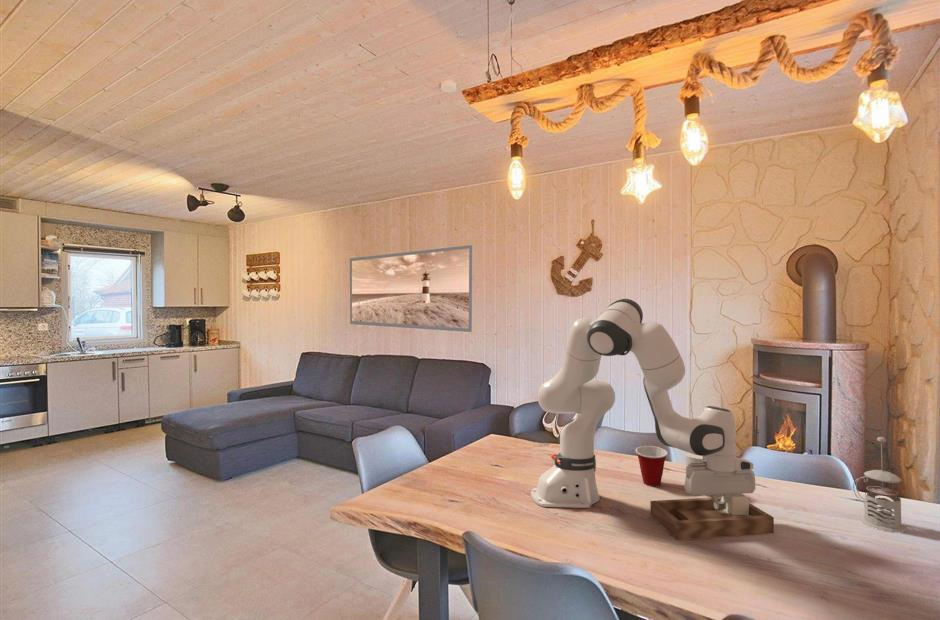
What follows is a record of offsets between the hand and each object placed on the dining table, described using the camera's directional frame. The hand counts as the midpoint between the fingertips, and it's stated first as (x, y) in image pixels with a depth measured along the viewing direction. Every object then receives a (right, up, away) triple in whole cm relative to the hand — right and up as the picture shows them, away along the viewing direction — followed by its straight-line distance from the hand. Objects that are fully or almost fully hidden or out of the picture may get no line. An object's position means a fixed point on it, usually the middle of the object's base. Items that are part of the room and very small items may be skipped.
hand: (720, 508), depth 138 cm
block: (+5, -1, +1) cm, 5 cm away
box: (-5, -3, -3) cm, 6 cm away
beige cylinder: (+5, -4, +23) cm, 23 cm away
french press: (+44, -3, -4) cm, 44 cm away
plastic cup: (-9, -4, +29) cm, 31 cm away
